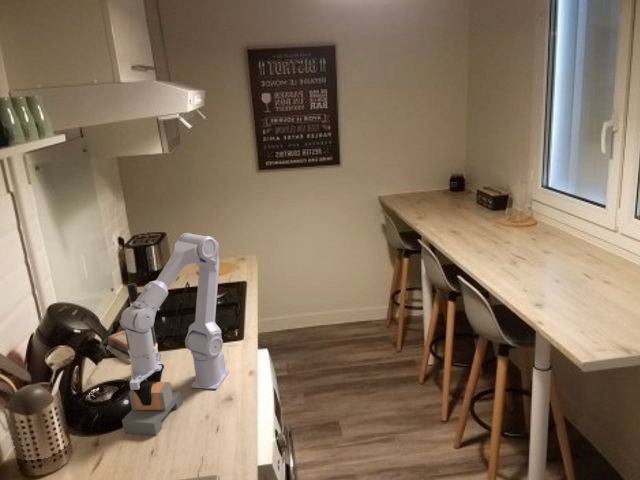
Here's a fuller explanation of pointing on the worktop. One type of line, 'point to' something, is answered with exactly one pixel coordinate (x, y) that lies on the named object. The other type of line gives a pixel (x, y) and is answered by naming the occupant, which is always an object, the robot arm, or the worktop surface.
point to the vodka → (133, 297)
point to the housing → (154, 397)
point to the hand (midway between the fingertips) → (151, 398)
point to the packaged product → (119, 346)
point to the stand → (149, 418)
